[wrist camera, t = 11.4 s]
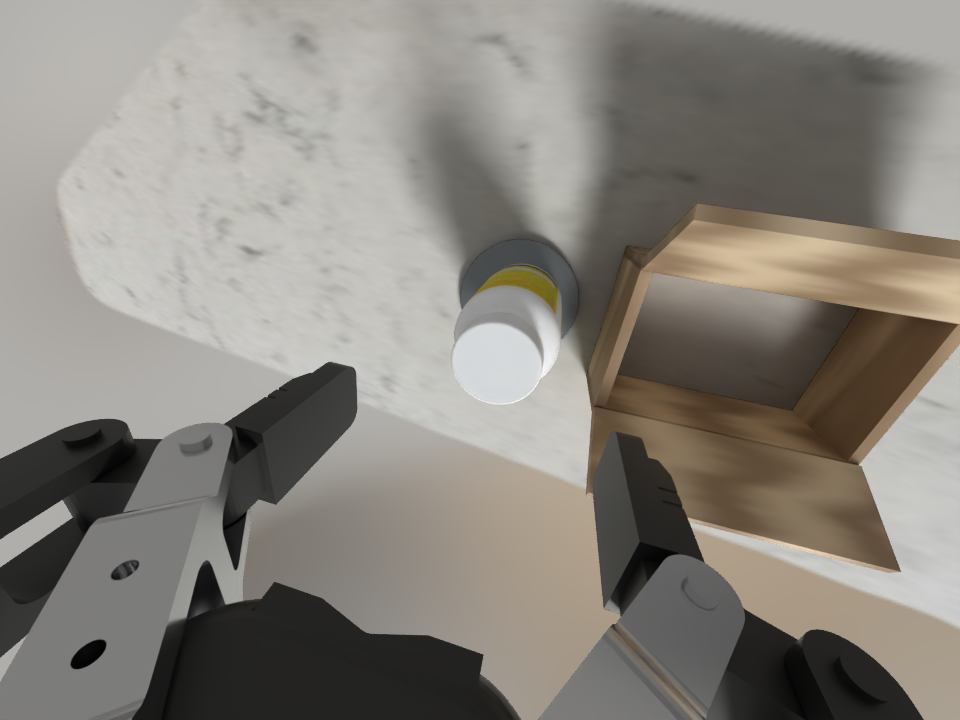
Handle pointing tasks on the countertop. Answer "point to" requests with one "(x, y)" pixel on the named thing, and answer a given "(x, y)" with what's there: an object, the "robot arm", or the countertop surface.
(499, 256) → the coaster
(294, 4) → the countertop surface
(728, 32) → the countertop surface
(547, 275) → the supplement bottle
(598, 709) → the robot arm
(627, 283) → the carton
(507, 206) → the countertop surface
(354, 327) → the countertop surface
